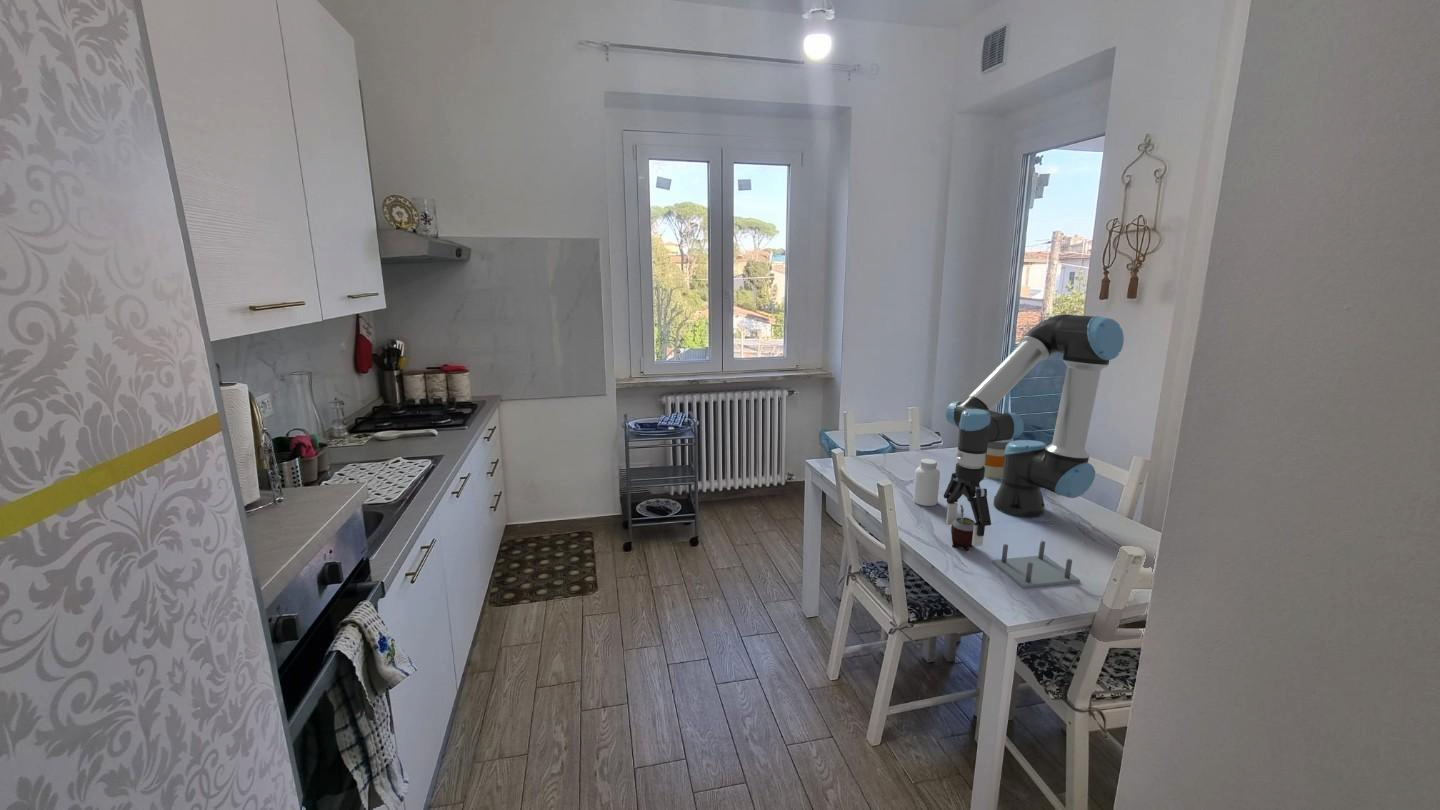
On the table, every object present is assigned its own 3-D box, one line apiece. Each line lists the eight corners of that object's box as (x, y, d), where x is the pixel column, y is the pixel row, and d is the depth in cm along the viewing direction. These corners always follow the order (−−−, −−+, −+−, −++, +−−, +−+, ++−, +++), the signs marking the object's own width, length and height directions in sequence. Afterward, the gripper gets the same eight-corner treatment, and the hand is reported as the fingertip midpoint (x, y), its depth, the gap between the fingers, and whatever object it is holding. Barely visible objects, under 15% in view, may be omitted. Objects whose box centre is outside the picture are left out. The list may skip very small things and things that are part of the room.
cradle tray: (1044, 557, 160) (1047, 538, 159) (1079, 582, 147) (1082, 562, 146) (991, 562, 158) (993, 543, 156) (1022, 588, 145) (1025, 567, 144)
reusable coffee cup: (982, 480, 216) (986, 442, 213) (969, 469, 229) (972, 432, 225) (1016, 480, 216) (1020, 442, 212) (1001, 468, 228) (1005, 432, 225)
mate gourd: (968, 540, 170) (973, 493, 167) (981, 553, 163) (987, 504, 159) (944, 541, 170) (948, 494, 167) (956, 554, 162) (960, 505, 159)
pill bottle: (942, 504, 196) (946, 463, 192) (923, 508, 193) (926, 466, 189) (926, 496, 203) (929, 455, 199) (908, 499, 200) (910, 459, 196)
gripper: (935, 451, 172) (929, 516, 177) (984, 481, 148) (976, 556, 153) (958, 450, 173) (952, 515, 178) (1010, 479, 149) (1002, 554, 154)
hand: (963, 534), depth 165 cm, fingers open, 13 cm apart
